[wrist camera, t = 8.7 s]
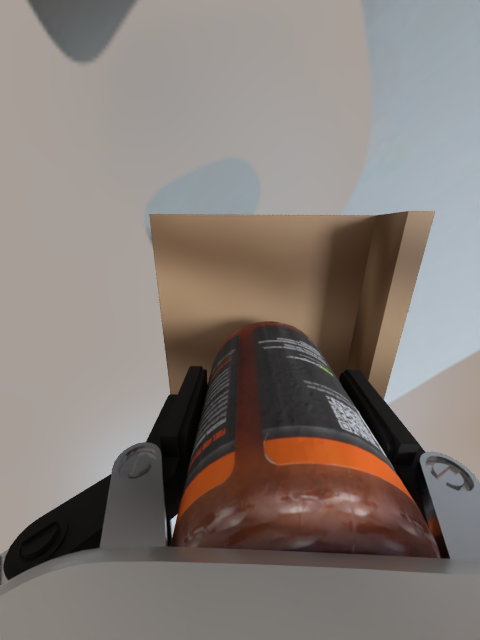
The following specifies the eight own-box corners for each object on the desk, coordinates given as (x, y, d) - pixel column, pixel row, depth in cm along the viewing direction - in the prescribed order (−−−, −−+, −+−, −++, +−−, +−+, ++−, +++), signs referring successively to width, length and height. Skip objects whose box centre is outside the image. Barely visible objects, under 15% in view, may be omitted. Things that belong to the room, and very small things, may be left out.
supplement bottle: (213, 406, 14) (117, 917, 4) (213, 314, 12) (-21, 898, 2) (312, 411, 14) (507, 948, 4) (329, 319, 12) (948, 980, 1)
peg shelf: (182, 220, 17) (125, 209, 9) (346, 221, 17) (435, 211, 9) (195, 397, 23) (166, 486, 15) (318, 400, 23) (357, 493, 15)
